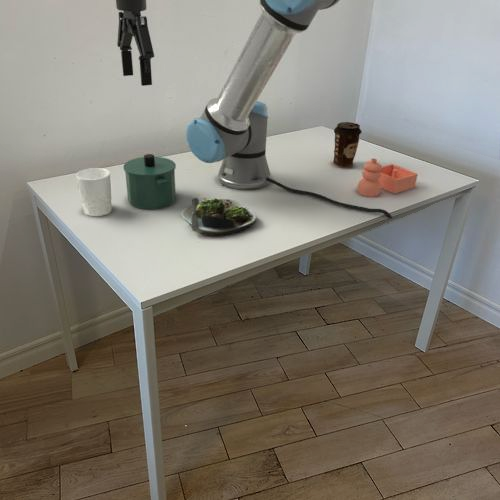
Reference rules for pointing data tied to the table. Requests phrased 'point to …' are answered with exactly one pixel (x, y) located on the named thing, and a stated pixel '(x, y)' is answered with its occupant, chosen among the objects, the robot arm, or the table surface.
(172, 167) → the pot lid
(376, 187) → the pottery
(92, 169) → the white cup
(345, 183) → the table surface
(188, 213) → the salad plate
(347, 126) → the coffee cup
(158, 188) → the pot
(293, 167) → the table surface
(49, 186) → the table surface
